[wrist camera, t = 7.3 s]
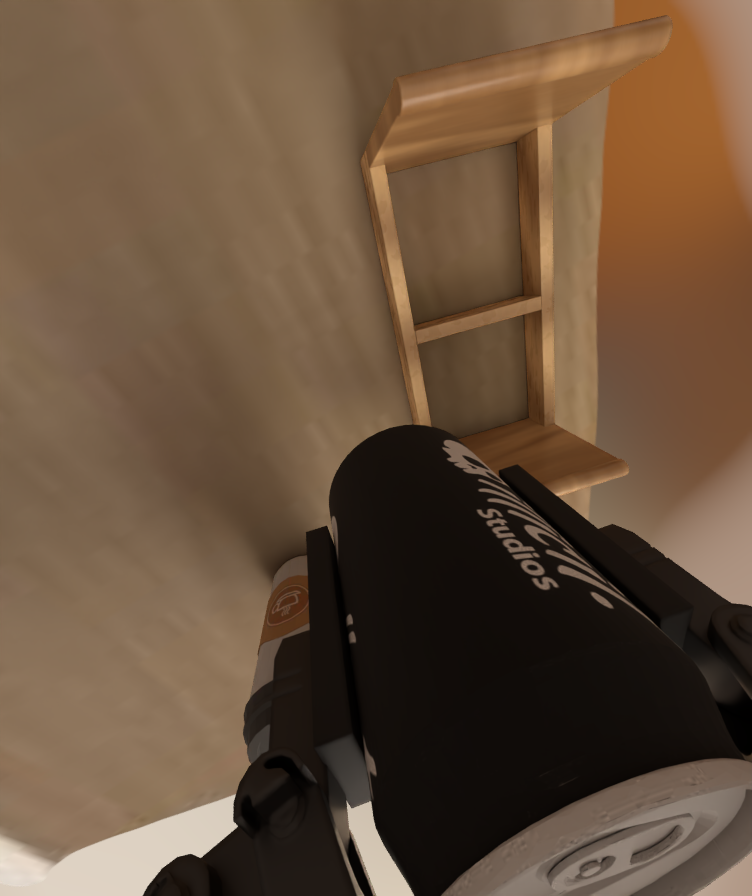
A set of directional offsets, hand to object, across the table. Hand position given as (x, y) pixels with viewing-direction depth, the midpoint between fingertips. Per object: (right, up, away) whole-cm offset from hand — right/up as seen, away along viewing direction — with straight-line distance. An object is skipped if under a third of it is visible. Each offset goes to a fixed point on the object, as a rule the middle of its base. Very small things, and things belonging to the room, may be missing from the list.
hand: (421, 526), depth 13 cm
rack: (+6, +14, +16) cm, 21 cm away
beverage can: (-1, +1, +3) cm, 3 cm away
